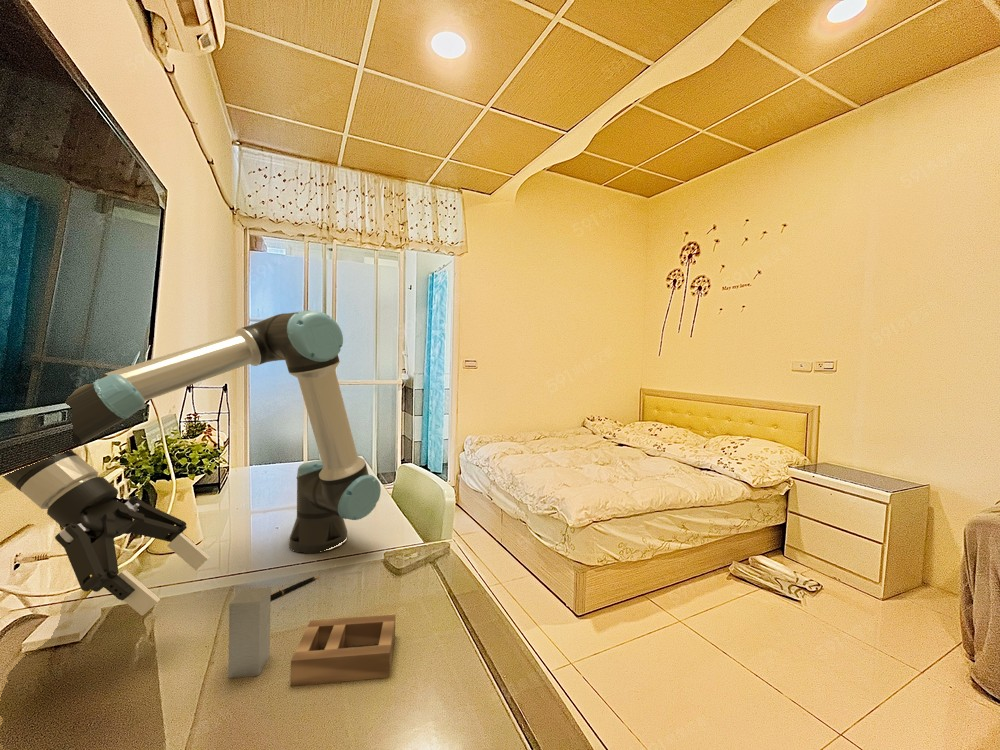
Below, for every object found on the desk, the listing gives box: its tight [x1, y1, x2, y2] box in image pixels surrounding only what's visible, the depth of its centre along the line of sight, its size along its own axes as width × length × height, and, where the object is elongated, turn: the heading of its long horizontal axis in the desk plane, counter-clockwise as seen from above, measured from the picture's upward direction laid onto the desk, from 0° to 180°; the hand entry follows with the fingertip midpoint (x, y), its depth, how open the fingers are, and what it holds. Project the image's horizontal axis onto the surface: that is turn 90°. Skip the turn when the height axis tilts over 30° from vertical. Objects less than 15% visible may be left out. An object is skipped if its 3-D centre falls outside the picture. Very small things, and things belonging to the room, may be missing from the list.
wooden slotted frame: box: [289, 614, 396, 687], centre depth 71 cm, size 10×15×4 cm
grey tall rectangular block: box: [227, 586, 272, 679], centre depth 69 cm, size 4×4×12 cm
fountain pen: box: [270, 575, 320, 602], centre depth 93 cm, size 14×1×2 cm, turn 148°
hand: (179, 583), depth 67 cm, fingers open, 13 cm apart
